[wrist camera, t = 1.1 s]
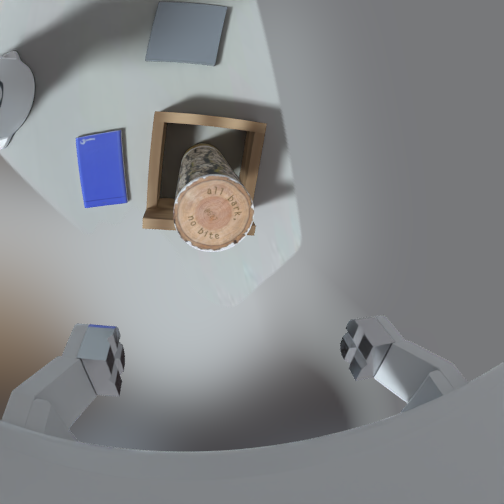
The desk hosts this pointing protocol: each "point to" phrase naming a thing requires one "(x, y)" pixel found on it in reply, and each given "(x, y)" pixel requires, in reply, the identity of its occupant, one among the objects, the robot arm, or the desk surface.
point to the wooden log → (210, 201)
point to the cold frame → (162, 208)
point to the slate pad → (186, 33)
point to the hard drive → (102, 169)
